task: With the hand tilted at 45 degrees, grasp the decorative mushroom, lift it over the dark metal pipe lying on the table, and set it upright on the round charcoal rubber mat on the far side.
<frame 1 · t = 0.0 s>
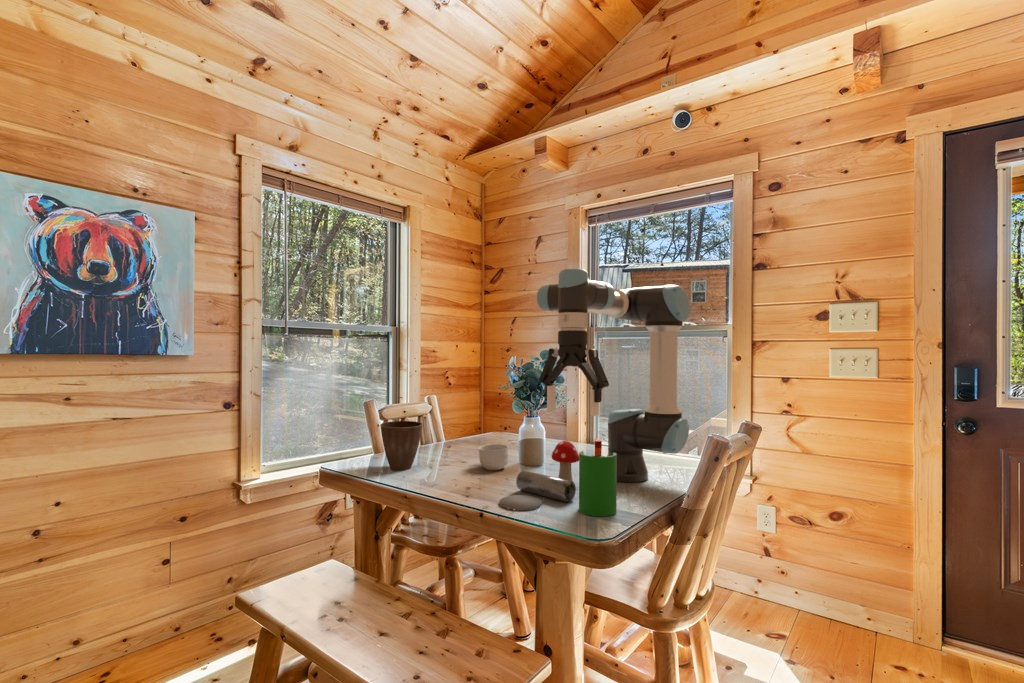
hand: (572, 413, 133), 28 cm above the table, tool pointing down, fingers open, 13 cm apart
decorative mushroom: (565, 489, 163), on the table
plant pot: (401, 468, 189), on the table
metal pipe: (545, 495, 156), on the table
rubber mat: (520, 503, 148), on the table
teacup: (492, 467, 191), on the table
motor: (598, 512, 142), on the table
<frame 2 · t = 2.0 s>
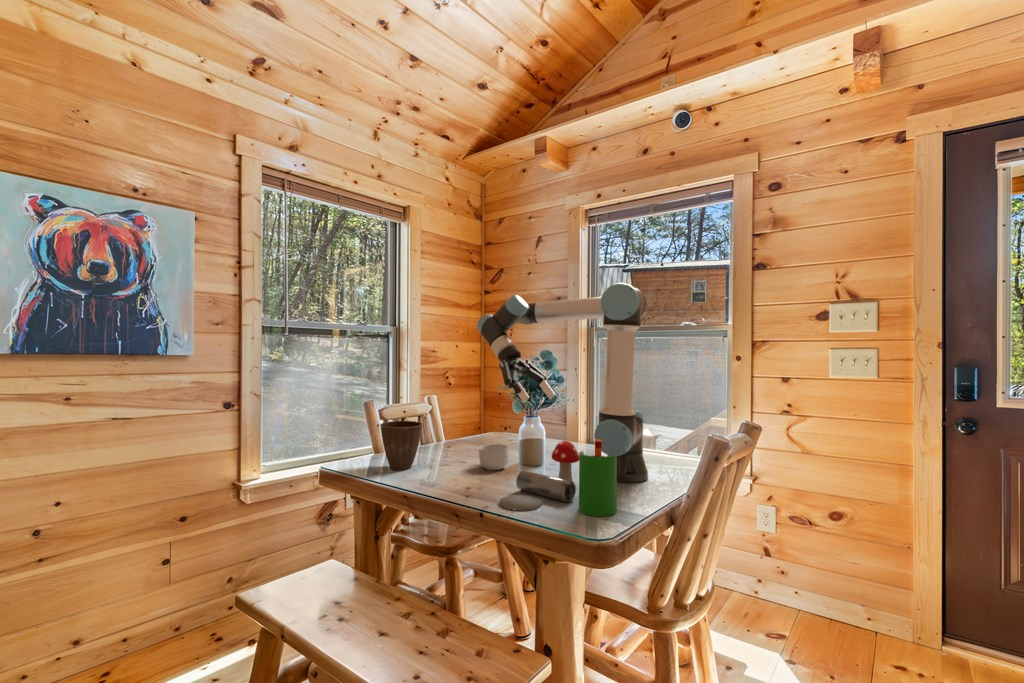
hand: (540, 398, 170), 28 cm above the table, tool tilted 45°, fingers open, 13 cm apart
nothing on the table moved.
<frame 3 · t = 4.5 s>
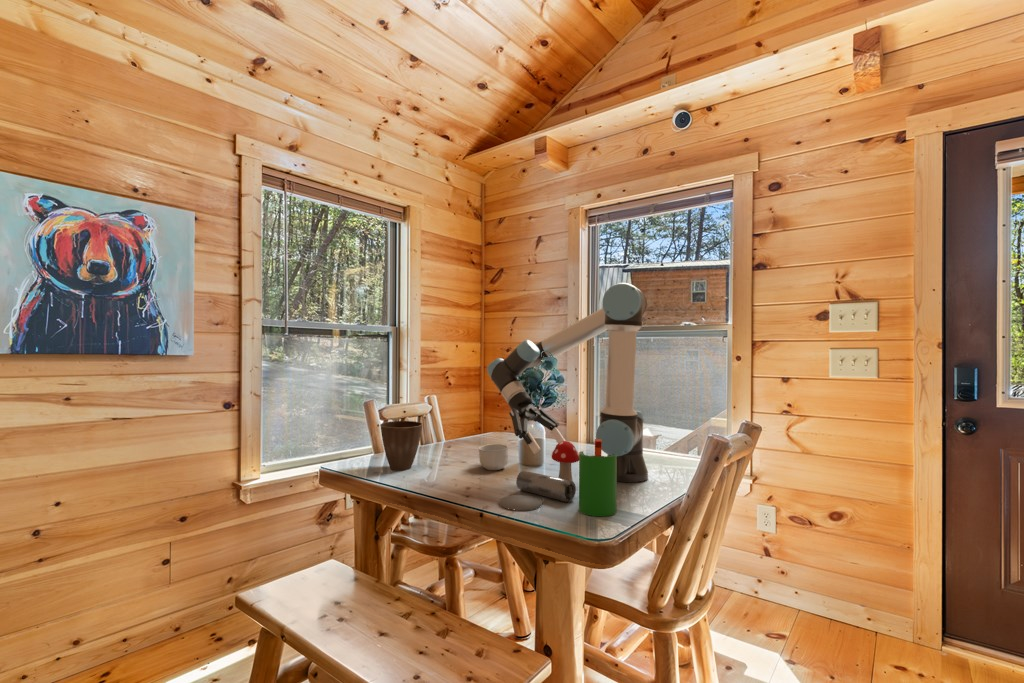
hand: (551, 448, 166), 12 cm above the table, tool tilted 45°, fingers open, 13 cm apart
nothing on the table moved.
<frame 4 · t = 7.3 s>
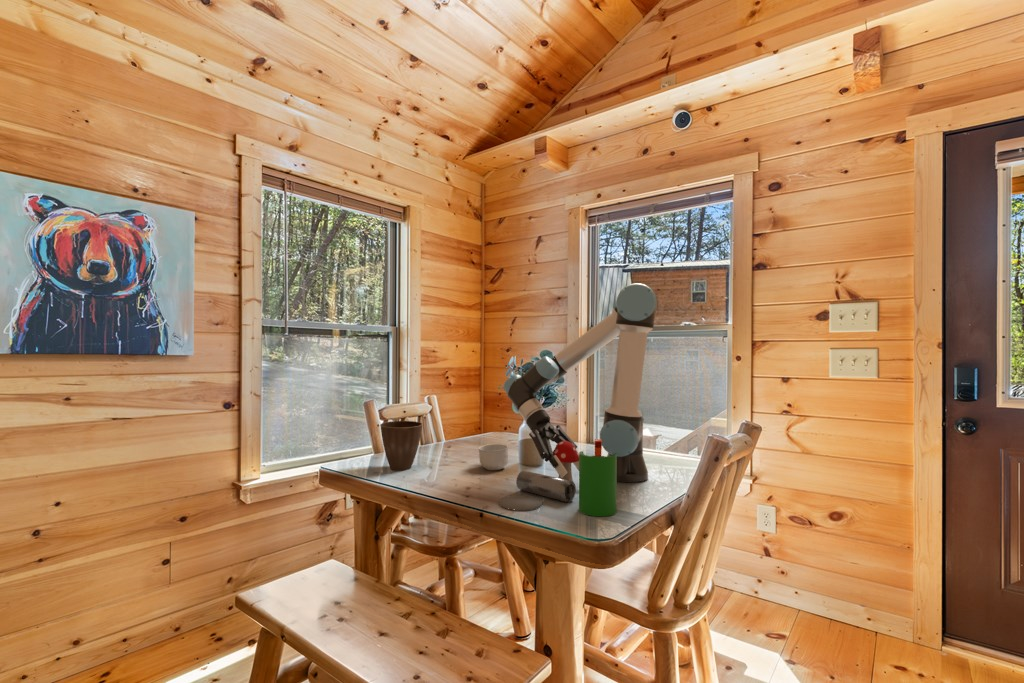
hand: (573, 472, 161), 6 cm above the table, tool tilted 45°, fingers closed on decorative mushroom, 9 cm apart
decorative mushroom: (565, 489, 163), on the table, touching gripper
everything else where it was.
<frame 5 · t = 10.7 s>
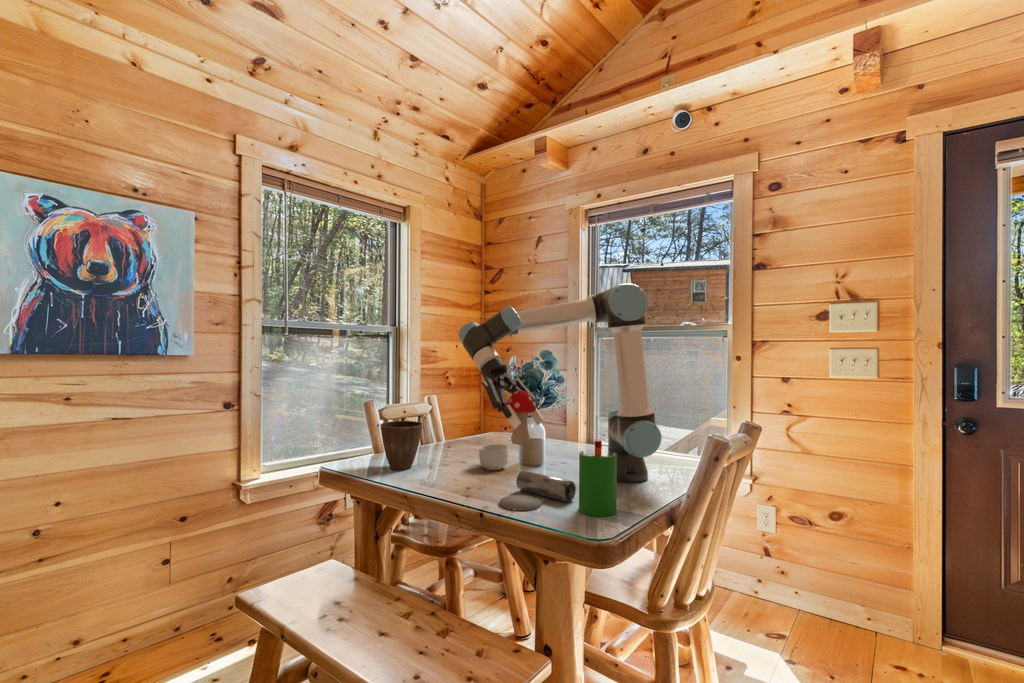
hand: (529, 424, 146), 23 cm above the table, tool tilted 45°, fingers closed on decorative mushroom, 9 cm apart
decorative mushroom: (520, 443, 148), point 17 cm above the table, touching gripper
everything else where it was.
when the fingers open (8 cm above the table, at t = 14.5 s): decorative mushroom drops 1 cm, resting on rubber mat.
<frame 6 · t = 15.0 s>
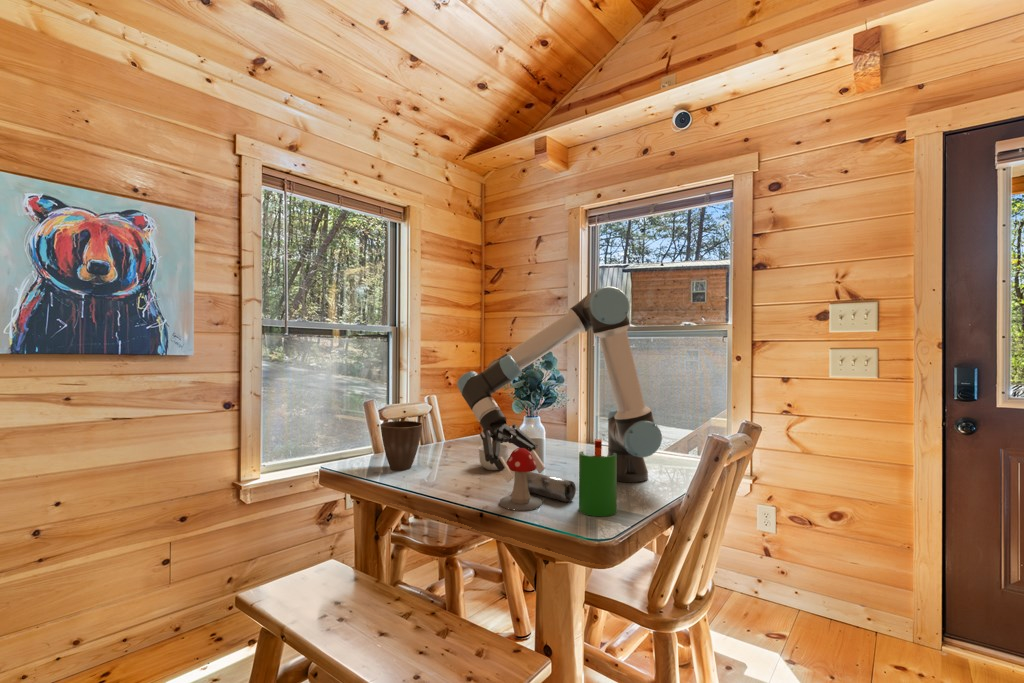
hand: (527, 474, 146), 9 cm above the table, tool tilted 45°, fingers open, 13 cm apart
decorative mushroom: (520, 501, 148), point 1 cm above the table, touching rubber mat
everything else where it was.
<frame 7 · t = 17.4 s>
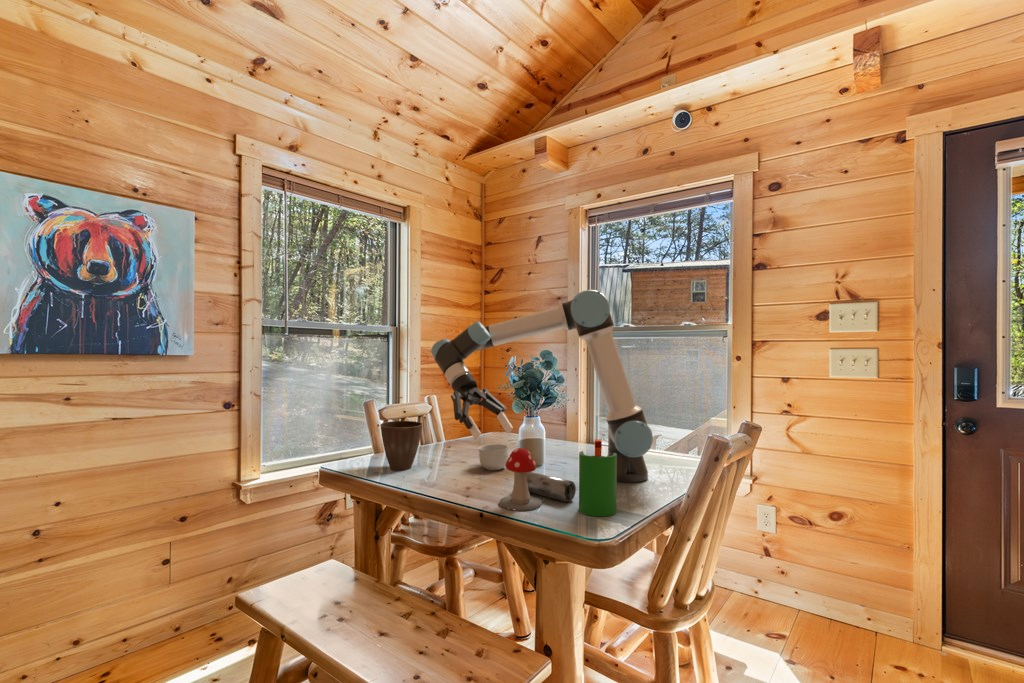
hand: (494, 433, 155), 19 cm above the table, tool tilted 45°, fingers open, 13 cm apart
nothing on the table moved.
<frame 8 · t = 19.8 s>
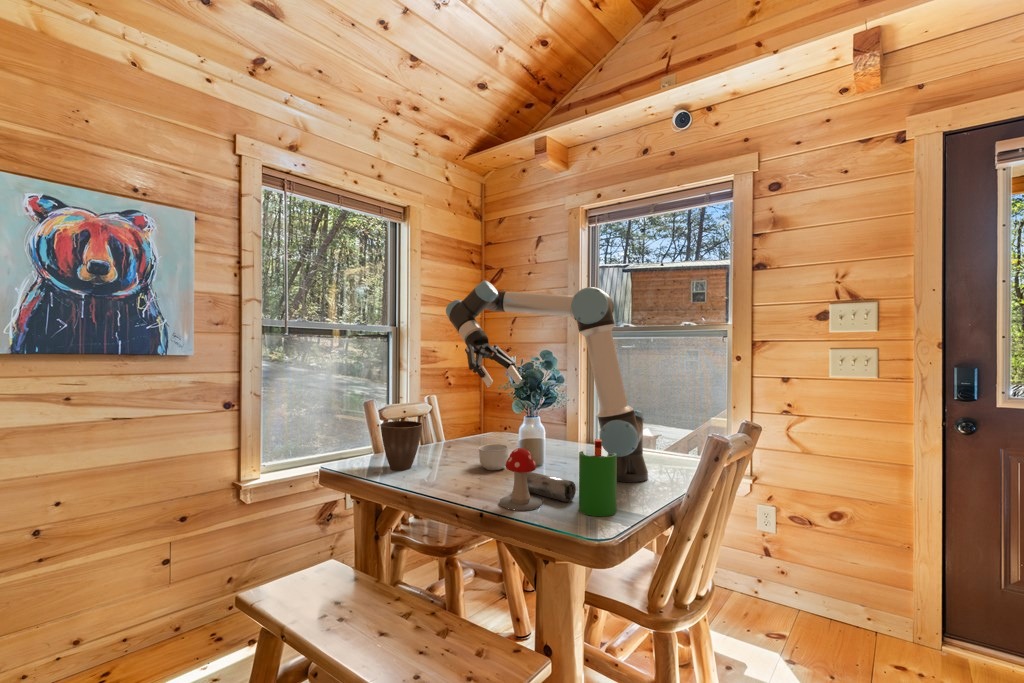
hand: (505, 383, 169), 33 cm above the table, tool tilted 45°, fingers open, 13 cm apart
nothing on the table moved.
at the end: decorative mushroom inside the target area on the rubber mat (0.1 cm from its centre), point 0.6 cm above the rubber mat's base; decorative mushroom tilted 0°; the gripper is holding nothing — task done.
